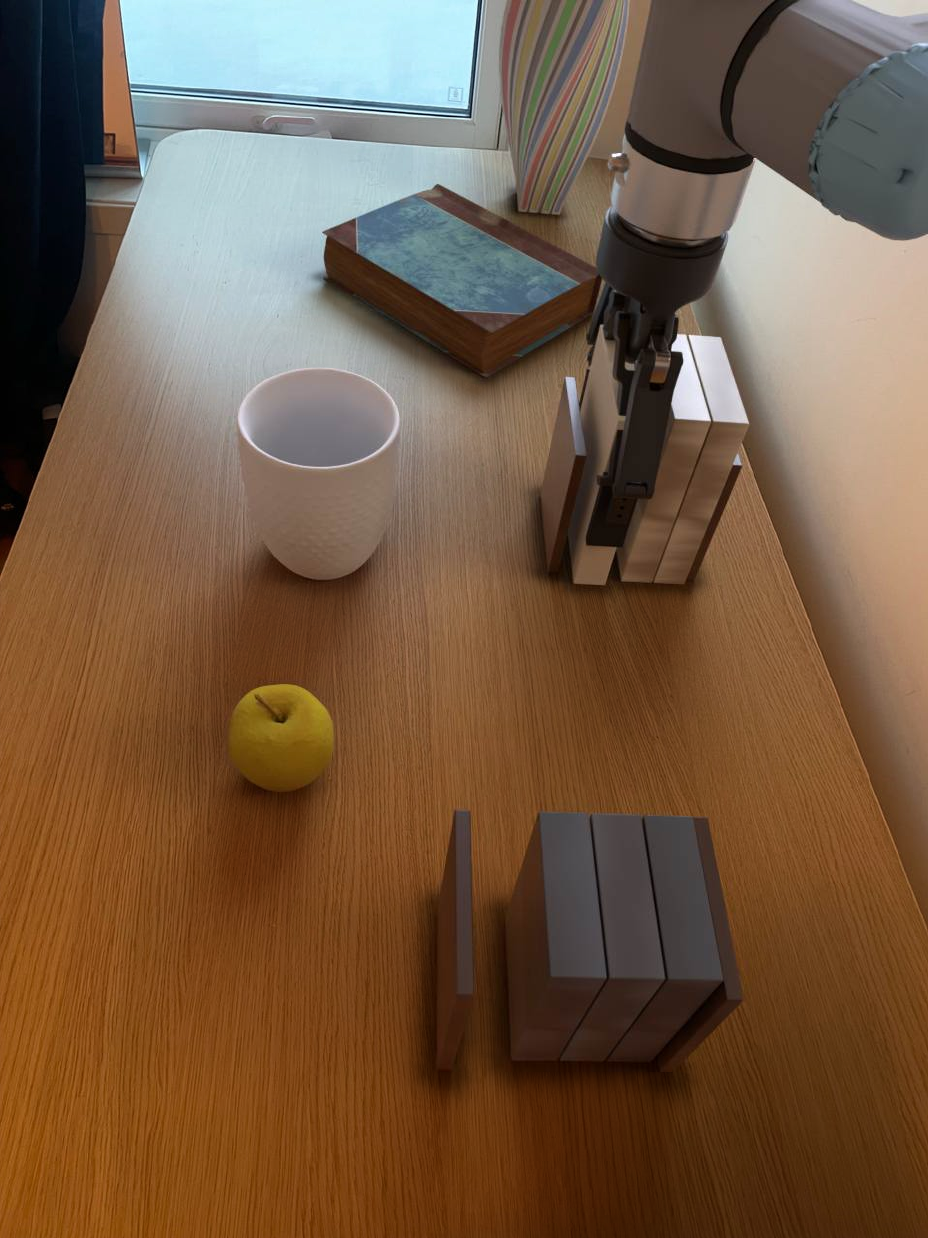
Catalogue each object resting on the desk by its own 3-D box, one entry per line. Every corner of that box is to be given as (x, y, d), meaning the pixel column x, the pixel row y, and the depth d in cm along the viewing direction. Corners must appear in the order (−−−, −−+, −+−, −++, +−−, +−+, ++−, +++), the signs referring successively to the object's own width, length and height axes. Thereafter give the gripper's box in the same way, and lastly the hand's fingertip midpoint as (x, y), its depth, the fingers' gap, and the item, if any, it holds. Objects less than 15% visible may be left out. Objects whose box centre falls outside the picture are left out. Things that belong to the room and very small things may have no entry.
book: (594, 313, 98) (604, 269, 94) (484, 379, 89) (490, 333, 85) (436, 225, 107) (439, 182, 103) (320, 277, 98) (319, 232, 94)
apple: (224, 744, 61) (210, 671, 55) (320, 719, 63) (316, 646, 57) (246, 829, 57) (233, 761, 51) (347, 800, 59) (346, 731, 53)
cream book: (590, 489, 80) (633, 326, 68) (604, 585, 73) (655, 422, 61) (562, 488, 80) (600, 323, 68) (573, 584, 73) (618, 420, 61)
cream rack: (675, 498, 81) (734, 337, 68) (695, 585, 74) (763, 424, 62) (539, 490, 80) (574, 325, 67) (548, 577, 73) (587, 412, 61)
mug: (328, 457, 80) (325, 322, 70) (442, 506, 77) (456, 373, 67) (221, 566, 71) (200, 429, 61) (346, 625, 68) (345, 492, 58)
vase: (482, 226, 108) (518, -93, 85) (480, 171, 116) (512, -131, 93) (598, 236, 109) (665, -76, 86) (588, 181, 117) (645, -116, 94)
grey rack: (650, 911, 56) (714, 807, 47) (673, 1072, 51) (752, 992, 41) (437, 906, 55) (456, 798, 45) (436, 1070, 50) (458, 987, 40)
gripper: (588, 125, 63) (538, 392, 80) (632, 323, 48) (559, 600, 65) (696, 135, 64) (624, 398, 81) (774, 333, 49) (665, 605, 66)
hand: (595, 488), depth 73 cm, fingers closed on cream book, 11 cm apart
